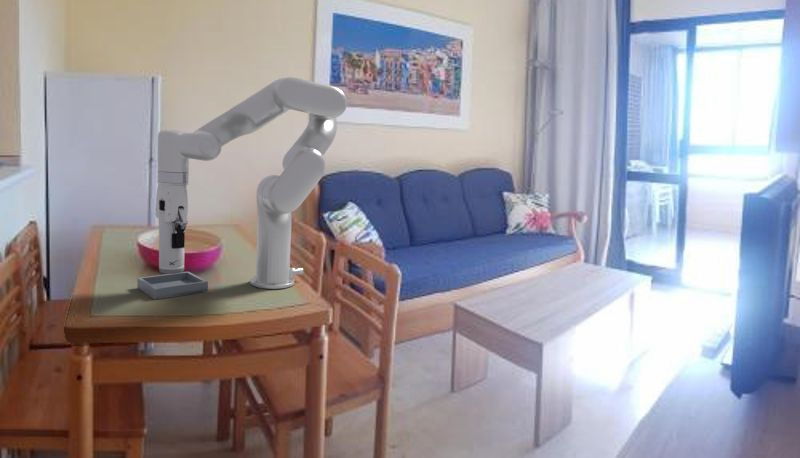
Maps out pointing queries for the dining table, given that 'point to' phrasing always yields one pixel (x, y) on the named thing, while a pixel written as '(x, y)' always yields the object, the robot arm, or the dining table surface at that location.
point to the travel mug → (168, 246)
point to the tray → (172, 285)
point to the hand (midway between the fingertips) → (172, 244)
